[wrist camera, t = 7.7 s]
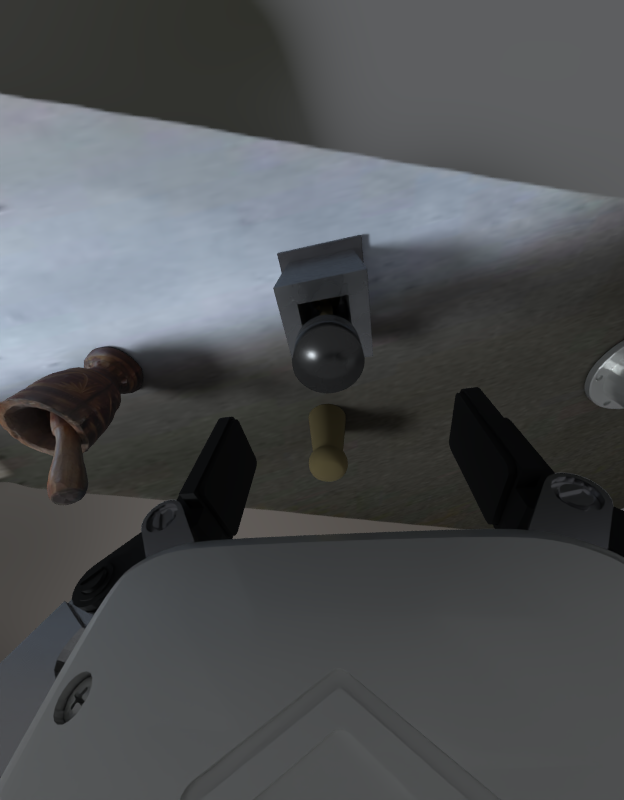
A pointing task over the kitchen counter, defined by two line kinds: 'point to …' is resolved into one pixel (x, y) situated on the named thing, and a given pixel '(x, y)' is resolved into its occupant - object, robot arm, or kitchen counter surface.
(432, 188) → the kitchen counter surface
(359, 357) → the plunger
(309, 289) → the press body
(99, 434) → the mortar and pestle
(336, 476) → the cork
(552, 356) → the kitchen counter surface
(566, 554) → the robot arm
